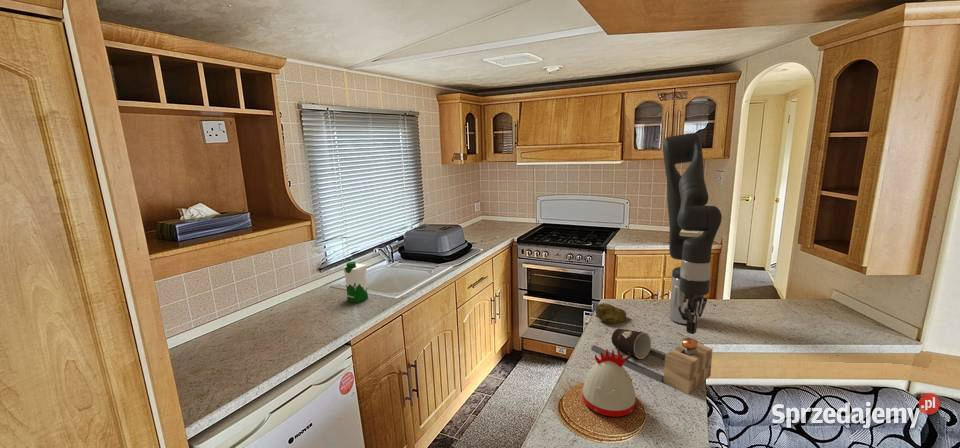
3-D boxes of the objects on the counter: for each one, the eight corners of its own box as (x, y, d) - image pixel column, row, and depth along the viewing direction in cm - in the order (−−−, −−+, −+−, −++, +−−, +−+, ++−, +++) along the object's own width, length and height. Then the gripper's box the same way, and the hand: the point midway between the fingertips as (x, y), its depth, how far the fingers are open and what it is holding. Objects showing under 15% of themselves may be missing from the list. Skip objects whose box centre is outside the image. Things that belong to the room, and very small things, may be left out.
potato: (630, 326, 153) (631, 307, 151) (597, 327, 153) (597, 307, 152) (624, 318, 161) (624, 299, 159) (592, 318, 161) (592, 299, 160)
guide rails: (616, 337, 144) (616, 333, 144) (685, 365, 124) (685, 361, 124) (591, 350, 135) (591, 346, 135) (661, 382, 116) (661, 377, 116)
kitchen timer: (635, 421, 100) (637, 367, 97) (579, 409, 105) (580, 358, 102) (635, 390, 113) (637, 341, 110) (585, 381, 118) (586, 334, 115)
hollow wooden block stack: (686, 366, 124) (688, 340, 122) (710, 376, 118) (712, 348, 117) (663, 382, 116) (665, 354, 114) (687, 394, 110) (689, 364, 108)
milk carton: (344, 304, 185) (340, 263, 181) (359, 297, 193) (355, 258, 189) (357, 307, 180) (353, 265, 177) (372, 300, 188) (368, 260, 184)
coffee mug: (624, 322, 139) (649, 329, 131) (627, 345, 140) (652, 354, 131) (602, 332, 133) (626, 340, 125) (604, 356, 134) (629, 365, 126)
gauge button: (684, 365, 119) (686, 336, 117) (697, 371, 116) (700, 341, 114) (677, 370, 117) (679, 340, 115) (691, 376, 114) (693, 345, 112)
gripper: (692, 267, 118) (688, 321, 121) (670, 277, 110) (666, 335, 113) (719, 273, 112) (715, 330, 115) (697, 284, 104) (693, 344, 107)
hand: (691, 332), depth 114 cm, fingers closed
